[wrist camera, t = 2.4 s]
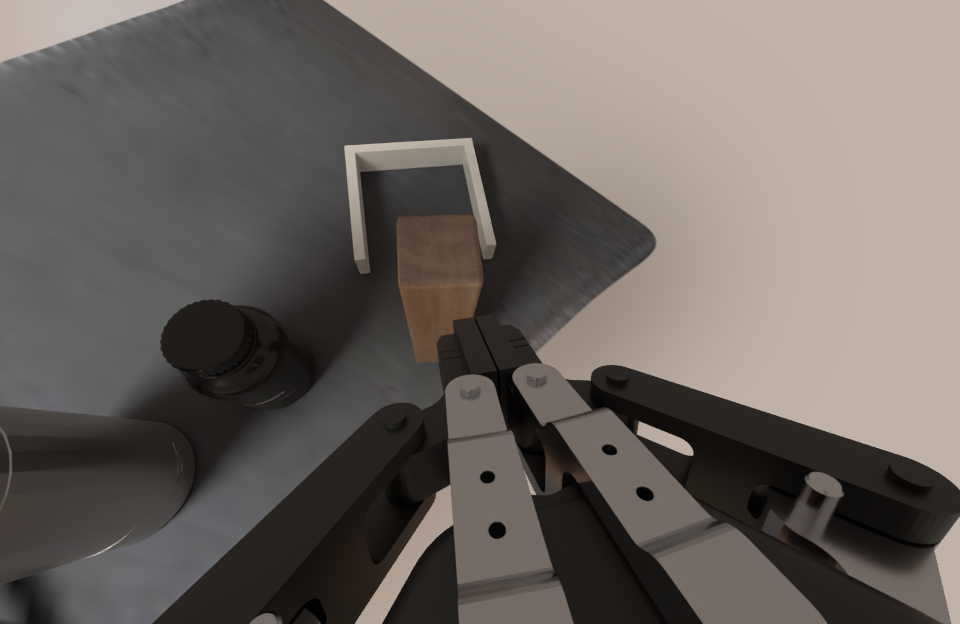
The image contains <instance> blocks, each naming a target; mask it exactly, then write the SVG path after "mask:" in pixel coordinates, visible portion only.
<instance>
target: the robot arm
mask: <svg viewBox="0 0 960 624" xmlns="http://www.w3.org/2000/svg"><path fill="white" fill-rule="evenodd" d="M453 330H454V334H449V335H442V336H440V338H439V340H438V342H437V344H436V345H437V352H438V359H439V367H440V374H441V381H442V386H443V391H444V395H443V396H442V398H441V399H440V400H439V401H438V402H437V403H435V404H434V405H432V406H430V407H428V408H426V409H424V410H422V411H421V409H420V408H419V407H417V406H416V405H413V404H410V403H395V404H391V405H388V406H385V407H383V408H381V409H380V410H378V411H377V412H376V413H375V414H373V415H372V416H371V417H370V418H369V419H368V420H367V421H366V422H365V423H364V424H363V425H362V426H361V427H360V428H359V429H358V430H356V431H355V432H354V433H353V434H352V435H351V436H350V437H349V438H348V439H347V440H346V441H345V442H344V443H343V444H342V445H341V446H340V447H338V448H337V449H336V450H335V451H334V452H333V453H332V454H331V455H330V456H329V457H328V458H327V459H326V460H325V461H324V462H323V463H322V464H321V465H319V466H318V467H317V468H316V469H315V470H314V471H313V472H312V473H311V474H310V475H309V476H308V477H307V478H306V479H305V480H304V481H303V482H301V483H300V484H299V485H298V486H297V487H296V488H295V489H294V490H293V491H292V492H291V493H290V494H289V495H288V496H287V497H286V498H285V499H283V500H282V501H281V502H280V503H279V504H278V505H277V506H276V507H275V508H274V509H273V510H272V511H271V512H270V513H269V514H268V515H267V516H266V517H264V518H263V519H262V520H261V521H260V522H259V523H258V524H257V525H256V526H255V527H254V528H253V529H252V530H251V531H250V532H249V533H248V534H246V535H245V536H244V537H243V538H242V539H241V540H240V541H239V542H238V543H237V544H236V545H235V546H234V547H233V548H232V549H231V550H230V551H228V552H227V553H226V554H225V555H224V556H223V557H222V558H221V559H220V560H219V561H218V562H217V563H216V564H215V565H214V566H213V567H212V568H211V569H209V570H208V571H207V572H206V573H205V574H204V575H203V576H202V577H201V578H200V579H199V580H198V581H197V582H196V583H195V584H194V585H193V586H191V587H190V588H189V589H188V590H187V591H186V592H185V593H184V594H183V595H182V596H181V597H180V598H179V599H178V600H177V601H176V602H175V603H173V604H172V605H171V606H170V607H169V608H168V609H167V610H166V611H165V612H164V613H163V614H162V615H161V616H160V617H159V618H158V619H157V620H155V621H154V622H153V623H152V624H355V622H356V621H357V619H358V617H359V616H360V615H361V613H362V611H363V610H364V608H365V607H366V605H367V604H368V602H369V601H370V599H371V598H372V596H373V594H374V593H375V592H376V590H377V589H378V587H379V585H380V584H381V582H382V581H383V579H384V578H385V576H386V575H387V573H388V572H389V570H390V569H391V567H392V565H393V564H394V563H395V561H396V559H397V558H398V556H399V555H400V553H401V552H402V550H403V549H404V547H405V546H406V544H407V543H408V541H409V540H410V538H411V537H412V535H413V534H414V532H415V530H416V529H417V527H418V526H419V524H420V523H421V521H422V520H423V518H424V517H425V515H426V514H427V512H428V511H429V509H430V508H431V506H432V504H433V503H434V500H435V497H436V492H438V491H440V490H441V489H443V488H445V487H447V486H449V485H451V498H452V511H453V525H452V526H451V527H449V528H448V529H447V530H445V531H444V532H443V533H442V534H440V535H439V536H438V537H437V538H436V539H435V540H434V541H433V542H432V543H431V544H430V545H429V546H428V548H427V549H426V550H425V551H424V553H423V554H422V555H421V557H420V558H419V560H418V561H417V563H416V565H415V566H414V568H413V570H412V572H411V573H410V575H409V577H408V579H407V580H406V582H405V584H404V586H403V587H402V589H401V591H400V593H399V595H398V596H397V598H396V600H395V602H394V604H393V605H392V607H391V609H390V611H389V612H388V614H387V616H386V618H385V620H384V621H383V623H382V624H951V621H950V616H949V612H948V608H947V603H946V599H945V595H944V591H943V586H942V582H941V578H940V573H939V569H938V565H937V560H936V556H935V552H934V550H935V549H936V547H937V546H938V545H939V543H940V542H941V540H942V539H943V538H944V537H945V535H946V534H947V533H948V531H949V530H950V529H951V527H952V526H953V525H954V523H955V522H956V521H957V519H958V518H959V517H960V490H959V489H958V488H957V487H956V486H955V485H954V484H953V483H952V482H951V481H949V480H948V479H947V478H945V477H944V476H943V475H941V474H940V473H938V472H936V471H935V470H933V469H931V468H929V467H927V466H925V465H923V464H921V463H919V462H917V461H914V460H912V459H909V458H906V457H903V456H900V455H897V454H894V453H891V452H888V451H885V450H881V449H879V448H875V447H872V446H869V445H866V444H863V443H860V442H856V441H854V440H851V439H847V438H844V437H841V436H838V435H835V434H832V433H829V432H826V431H822V430H819V429H816V428H813V427H810V426H807V425H804V424H801V423H797V422H795V421H792V420H788V419H785V418H782V417H779V416H776V415H773V414H770V413H766V412H763V411H760V410H757V409H754V408H751V407H748V406H745V405H742V404H739V403H736V402H732V401H729V400H726V399H723V398H719V397H717V396H714V395H711V394H708V393H704V392H701V391H698V390H695V389H692V388H689V387H686V386H683V385H679V384H676V383H673V382H670V381H667V380H664V379H661V378H658V377H655V376H652V375H648V374H645V373H642V372H639V371H636V370H633V369H630V368H626V367H623V366H618V365H606V366H601V367H599V368H597V369H595V370H594V371H593V372H592V375H591V381H585V380H584V381H583V380H568V379H565V378H564V377H563V376H562V375H561V374H560V373H559V371H557V369H555V368H553V367H551V366H549V365H546V364H542V362H541V361H540V359H539V358H538V356H537V355H536V353H535V352H534V350H533V349H532V347H531V346H529V343H528V341H527V340H526V339H525V337H524V335H523V334H522V332H521V331H520V330H519V329H517V328H515V327H513V326H512V325H505V326H501V325H500V323H499V321H498V320H497V318H496V316H495V315H494V314H490V315H484V316H477V317H474V318H473V317H471V318H465V319H458V320H453ZM639 421H640V422H642V423H645V424H648V425H650V426H652V427H655V428H657V429H660V430H662V431H665V432H667V433H670V434H672V435H675V436H677V437H680V438H682V439H684V440H685V441H687V442H688V443H689V444H690V446H691V447H692V449H693V452H694V455H693V456H687V455H684V454H681V453H679V452H677V451H674V450H672V449H669V448H667V447H665V446H662V445H660V444H658V443H655V442H653V441H650V440H648V439H646V438H643V437H641V436H639V435H637V430H638V423H639ZM512 432H513V433H512ZM513 435H514V436H513ZM514 438H515V439H514ZM523 469H524V470H523ZM524 471H525V473H526V475H527V477H528V479H529V481H530V483H531V485H532V487H533V489H534V491H535V493H536V495H531V493H530V490H529V487H528V483H527V480H526V476H525V473H524ZM194 472H195V457H194V453H193V450H192V447H191V445H190V443H189V441H188V440H187V438H186V437H185V436H184V435H183V434H182V433H181V432H180V431H179V430H178V429H176V428H174V427H172V426H170V425H168V424H165V423H161V422H156V421H146V420H136V419H126V418H118V417H108V416H98V415H88V414H77V413H67V412H57V411H47V410H36V409H26V408H16V407H6V406H0V584H4V583H7V582H10V581H13V580H17V579H20V578H23V577H26V576H30V575H33V574H36V573H39V572H43V571H46V570H49V569H52V568H56V567H59V566H62V565H65V564H69V563H72V562H75V561H78V560H82V559H86V558H89V557H92V556H95V555H98V554H102V553H105V552H108V551H111V550H115V549H118V548H121V547H124V546H127V545H131V544H133V543H136V542H138V541H140V540H143V539H145V538H147V537H148V536H150V535H152V534H153V533H155V532H156V531H158V530H159V529H161V528H162V527H163V526H164V525H165V524H166V523H167V522H169V521H170V520H171V519H172V517H173V516H174V515H175V514H176V513H177V511H178V510H179V509H180V508H181V506H182V504H183V503H184V501H185V499H186V498H187V496H188V494H189V491H190V488H191V486H192V483H193V479H194Z"/></svg>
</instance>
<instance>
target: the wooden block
mask: <svg viewBox="0 0 960 624" xmlns="http://www.w3.org/2000/svg"><path fill="white" fill-rule="evenodd" d="M396 232H397V261H398V285H399V289H400V294H401V298H402V302H403V307H404V311H405V315H406V319H407V324H408V328H409V332H410V337H411V341H412V345H413V350H414V354H415V358H416V361H417V362H418V363H430V362H439V359H438V352H437V345H436V344H437V342H438V340H439V338H440V336H442V335H449V334H454V330H453V320H458V319H465V318H471V317H474V313H475V310H476V306H477V303H478V299H479V295H480V292H481V288H482V285H483V281H484V277H483V269H482V261H481V253H480V244H479V236H478V228H477V221H476V219H475V217H474V215H470V214H459V215H420V216H401V217H399V218H398V221H397V223H396Z"/></svg>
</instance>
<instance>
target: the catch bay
mask: <svg viewBox="0 0 960 624" xmlns="http://www.w3.org/2000/svg"><path fill="white" fill-rule="evenodd" d="M344 147H345V158H346V170H347V181H348V193H349V204H350V216H351V227H352V239H353V250H354V261H355V263H356V265H357V267H358V270H359V272H360V274H366V273H370V264H369V255H368V245H367V235H366V225H365V215H364V205H363V196H362V186H361V176H360V172H367V171H381V170H395V169H408V168H422V167H436V166H449V165H463V168H464V173H465V177H466V182H467V186H468V191H469V196H470V200H471V205H472V210H473V214H474V217H475V219H476V221H477V228H478V236H479V242H480V247H481V251H482V256H483V260H484V259H492V257H493V254H494V251H495V247H496V241H495V237H494V232H493V228H492V224H491V219H490V215H489V211H488V206H487V202H486V198H485V193H484V189H483V185H482V181H481V176H480V172H479V168H478V163H477V159H476V155H475V150H474V146H473V142H472V138H463V139H447V140H430V141H414V142H398V143H381V144H365V145H349V146H344Z"/></svg>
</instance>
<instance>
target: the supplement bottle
mask: <svg viewBox="0 0 960 624" xmlns="http://www.w3.org/2000/svg"><path fill="white" fill-rule="evenodd" d="M161 338H162V339H161V341H160V344H161V351H162V352H163V356H164V357H165V358H166V361H167V362H168V363H170V364H171V365H172V367H174V368H177V369H179V370H180V372H181V374H182V377H183V378H184V380H185V381H186V383H187V384H188V385H189V386H190V387H191V388H192V389H194V390H195V391H197V392H198V393H200V394H203V395H205V396H208V397H211V398H215V399H219V400H223V401H227V402H231V403H235V404H239V405H243V406H247V407H251V408H255V409H260V410H276V409H280V408H283V407H286V406H288V405H290V404H292V403H294V402H295V401H297V400H298V399H299V398H300V397H301V396H302V395H303V394H304V393H305V392H306V391H307V389H308V388H309V386H310V384H311V382H312V380H313V377H314V371H315V364H314V359H313V356H312V354H311V352H310V350H309V349H308V347H307V346H306V345H305V344H304V343H303V342H302V341H301V340H299V339H298V338H297V337H296V336H295V335H294V334H292V333H291V332H290V331H289V330H288V329H287V328H285V327H284V326H283V325H282V324H281V323H280V322H278V321H277V320H276V319H275V318H274V317H272V316H271V315H270V314H268V313H267V312H265V311H263V310H261V309H258V308H255V307H251V306H244V305H236V306H234V305H230V304H229V303H228V302H222V301H220V300H212V299H211V300H202V301H200V302H194V303H193V304H189V305H187V306H186V307H184V308H182V309H180V310H179V311H178V312H177V313H176V314H174V315H173V316H172V318H171V319H170V320H169V321H168V322H167V325H166V326H165V327H164V331H163V333H162V334H161Z"/></svg>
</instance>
